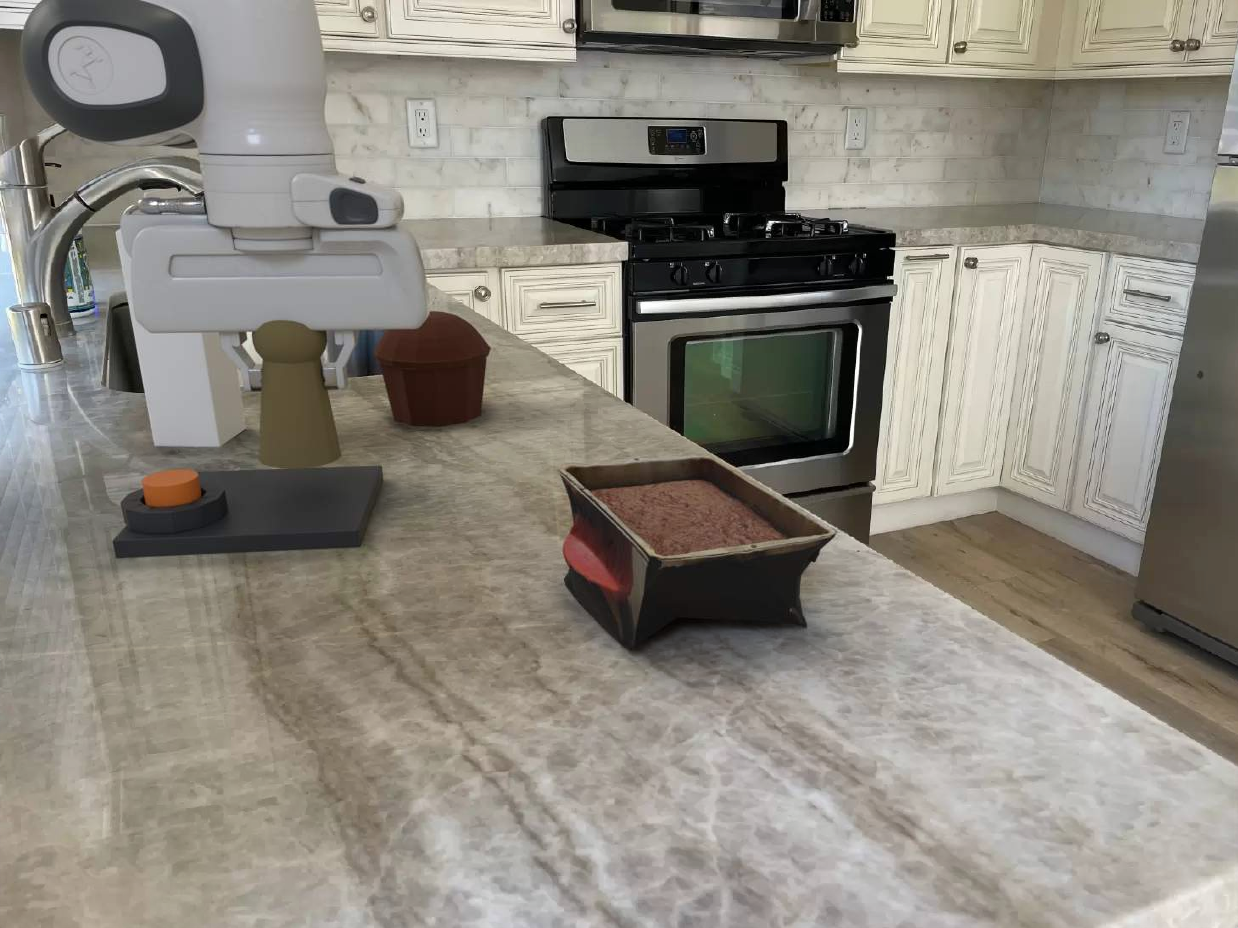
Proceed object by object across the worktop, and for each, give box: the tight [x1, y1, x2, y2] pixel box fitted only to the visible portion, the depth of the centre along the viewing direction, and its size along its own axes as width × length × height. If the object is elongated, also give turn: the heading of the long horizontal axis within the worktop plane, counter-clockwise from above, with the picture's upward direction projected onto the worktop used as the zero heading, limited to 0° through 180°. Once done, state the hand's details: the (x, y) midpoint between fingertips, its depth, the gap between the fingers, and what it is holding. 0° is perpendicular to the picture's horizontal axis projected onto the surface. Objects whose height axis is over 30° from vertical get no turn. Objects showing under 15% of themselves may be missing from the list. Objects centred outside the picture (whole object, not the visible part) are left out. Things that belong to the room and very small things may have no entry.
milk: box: [115, 187, 247, 448], centre depth 90 cm, size 6×6×22 cm
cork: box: [251, 320, 342, 469], centre depth 76 cm, size 6×6×11 cm
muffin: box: [372, 310, 492, 427], centre depth 101 cm, size 12×11×10 cm
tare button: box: [141, 468, 202, 507], centre depth 71 cm, size 4×4×2 cm
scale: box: [111, 465, 384, 559], centre depth 76 cm, size 16×14×3 cm
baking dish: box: [557, 454, 838, 651], centre depth 62 cm, size 14×18×10 cm
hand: (297, 389), depth 76 cm, fingers closed on cork, 4 cm apart
